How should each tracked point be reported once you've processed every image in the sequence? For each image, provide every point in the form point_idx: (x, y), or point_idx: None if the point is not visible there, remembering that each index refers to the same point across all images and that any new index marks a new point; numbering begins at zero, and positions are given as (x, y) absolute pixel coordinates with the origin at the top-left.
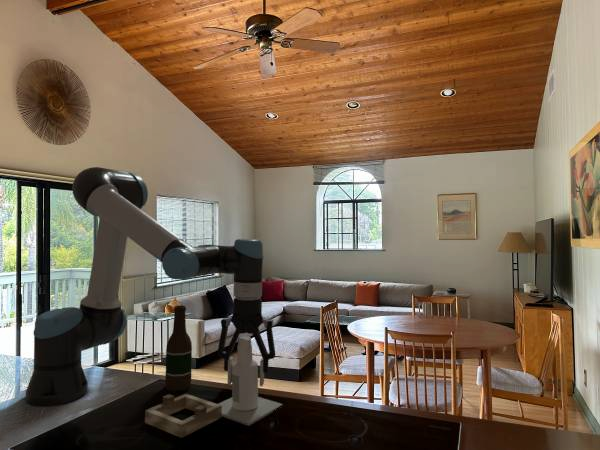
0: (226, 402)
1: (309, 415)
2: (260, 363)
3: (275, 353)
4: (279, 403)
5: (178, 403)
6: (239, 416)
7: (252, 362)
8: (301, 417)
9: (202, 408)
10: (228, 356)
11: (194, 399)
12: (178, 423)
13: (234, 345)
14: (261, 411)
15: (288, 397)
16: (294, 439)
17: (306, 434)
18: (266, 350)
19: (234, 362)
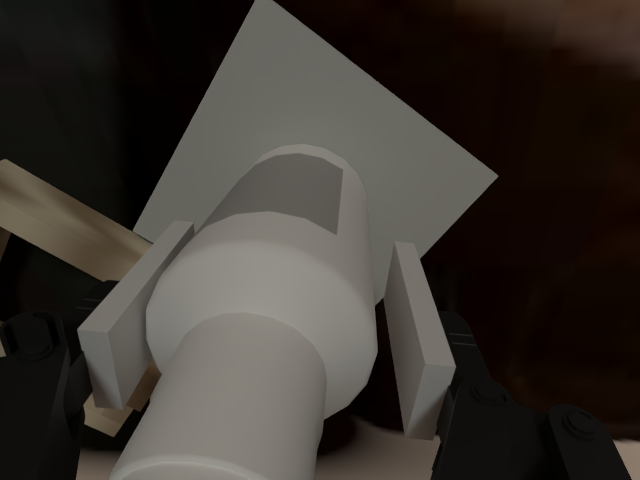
0: (199, 159)
1: (602, 265)
2: (405, 420)
3: (609, 435)
4: (483, 168)
5: None
6: None
7: (330, 398)
8: (558, 282)
9: (141, 401)
10: (79, 434)
11: (46, 249)
12: (98, 429)
13: (42, 472)
14: (384, 255)
15: (557, 39)
16: None
17: (537, 393)
18: (506, 466)
19: (159, 351)
